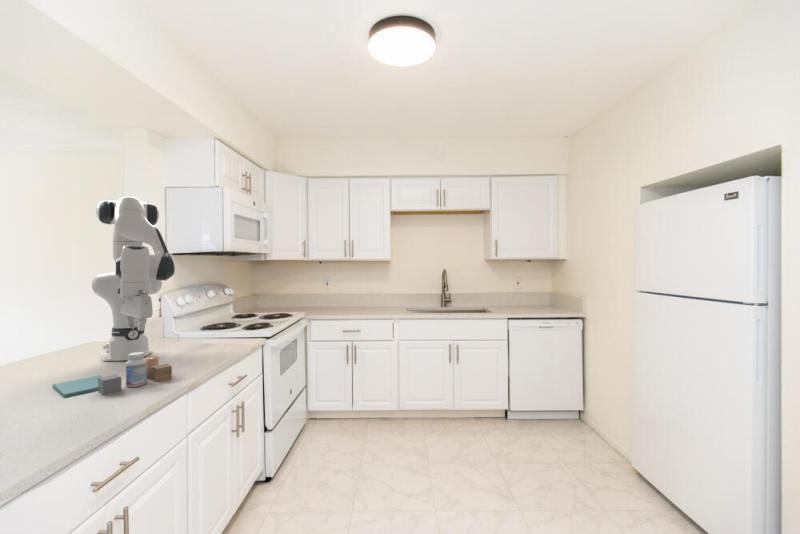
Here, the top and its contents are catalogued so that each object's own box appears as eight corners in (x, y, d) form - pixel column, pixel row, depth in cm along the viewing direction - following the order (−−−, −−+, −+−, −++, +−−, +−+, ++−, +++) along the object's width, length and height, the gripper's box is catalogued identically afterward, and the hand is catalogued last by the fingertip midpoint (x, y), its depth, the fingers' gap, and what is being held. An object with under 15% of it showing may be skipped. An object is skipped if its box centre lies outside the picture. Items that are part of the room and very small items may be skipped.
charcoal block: (98, 392, 123) (98, 377, 123) (116, 388, 127) (116, 374, 127) (102, 395, 120) (102, 380, 120) (121, 391, 124) (121, 376, 124)
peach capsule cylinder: (140, 376, 140) (140, 358, 140) (155, 373, 144) (155, 355, 144) (146, 379, 137) (145, 360, 137) (161, 375, 141) (160, 357, 141)
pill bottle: (124, 384, 130) (123, 353, 130) (144, 380, 135) (144, 350, 135) (127, 388, 126) (127, 356, 126) (148, 384, 131) (148, 353, 131)
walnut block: (151, 379, 136) (151, 366, 136) (166, 376, 140) (166, 363, 140) (156, 382, 133) (156, 368, 133) (171, 378, 137) (171, 365, 137)
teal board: (52, 387, 128) (52, 384, 128) (99, 377, 138) (99, 375, 138) (64, 397, 118) (64, 394, 118) (113, 386, 128) (113, 383, 128)
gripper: (157, 290, 126) (158, 330, 127) (135, 288, 139) (135, 324, 139) (136, 291, 121) (136, 333, 121) (115, 289, 134) (115, 327, 134)
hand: (136, 328), depth 130 cm, fingers open, 8 cm apart
